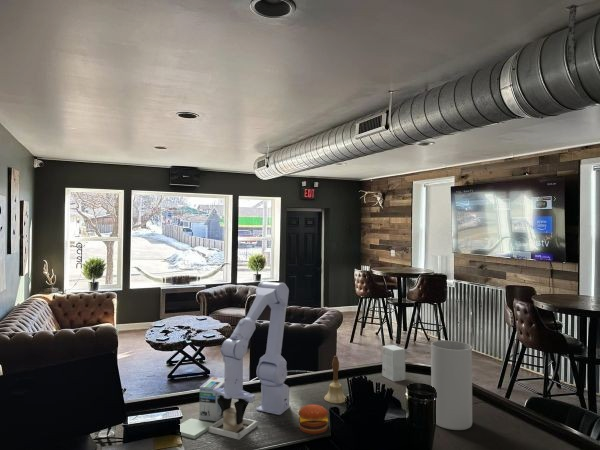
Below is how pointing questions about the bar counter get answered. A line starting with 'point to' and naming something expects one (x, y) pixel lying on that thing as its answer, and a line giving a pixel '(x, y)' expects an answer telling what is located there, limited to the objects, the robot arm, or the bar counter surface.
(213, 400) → the light bulb box
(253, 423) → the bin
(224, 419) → the ash block
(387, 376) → the small box
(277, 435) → the bar counter surface
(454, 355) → the cylinder vase
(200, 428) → the board
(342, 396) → the hand bell
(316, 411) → the hamburger
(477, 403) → the bar counter surface
